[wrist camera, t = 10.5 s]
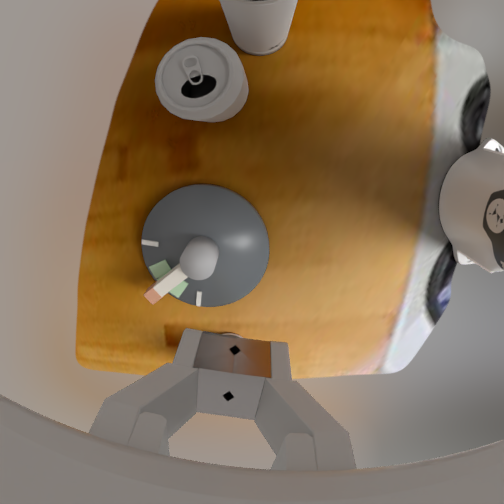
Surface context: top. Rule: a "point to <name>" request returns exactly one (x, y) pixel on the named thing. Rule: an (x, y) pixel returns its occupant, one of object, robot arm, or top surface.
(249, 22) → the travel mug
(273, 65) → the top surface
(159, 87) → the can
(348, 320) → the top surface
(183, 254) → the needle
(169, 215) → the dial plate
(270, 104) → the top surface
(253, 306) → the top surface
